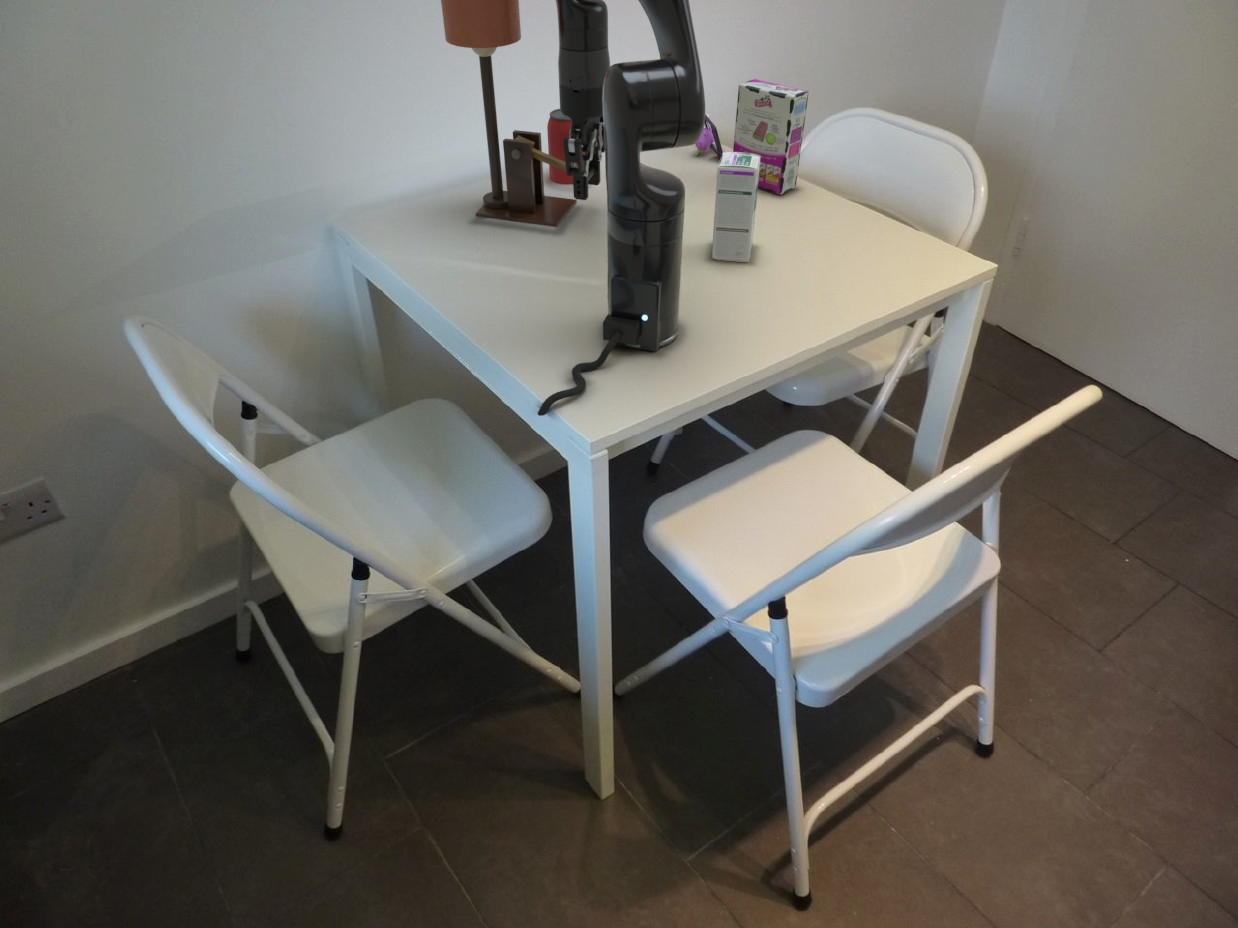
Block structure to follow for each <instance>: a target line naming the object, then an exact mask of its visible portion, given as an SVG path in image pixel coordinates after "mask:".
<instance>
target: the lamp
mask: <svg viewBox="0 0 1238 928" xmlns="http://www.w3.org/2000/svg"><path fill="white" fill-rule="evenodd" d="M440 5H441V11H442V22H443V29H444V38H445V41H446V43H447V44H450V45H452V46H455V47H459V48H467V49H472V52H474V54H476V56H478V59H479V60H478V61H479V69H480V70H479V71H480V80H481V90H482V101H483V111H484V112H483V113H484V121H485V132H486V142H487V143H486V144H487V151H488V163H489V173H490V183H491V191H489V192H487V193H485V194H484V195H483V197H482V202H483V203H482V204H483V206H484V205H485V206H486V207H489V208H494V209H501V208H506V207H508V195H507V192H505V191H506V190H504V185H503V184H504V183H503V174H502V173H503V171H502V162H501V151H500V140H499V129H498V128H499V127H498V118H497V117H498V116H497V104H496V95H495V94H496V93H495V83H494V72H493V71H494V70H493V59H492V56H493V55H494V54H495V53H496V51H497V49H498V48H501V47H505V46H506V47H507V46H509V45H513V44H515V43H517V42H519V41H520V40H521V39H522V31H521V15H520V14H521V12H520V0H440Z"/></svg>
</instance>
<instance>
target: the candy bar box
mask: <svg viewBox="0 0 1238 928" xmlns="http://www.w3.org/2000/svg"><path fill="white" fill-rule="evenodd" d="M737 91H738V92H737V102H736V113H735V114H736V115H735V125H734V137H733V147H732V148H733V150H732V152H745V153H753V154H759V155H760V167H759V179H758V189H759V190H762V191H766V192H769V193H772V194H776V195H779V196H782V195H784V194H786V193H789V192H790V191H793V190H794V189H796V187H797V180H798V173H799V165H800V159H801V158H800V157H801V151H802V144H803V143H802V142H803V136H804V130H805V129H804V128H805V123H806V122H805V121H806V114H807V107H808V101H809V100H808V99H809V93H810V92H809V91H808V90H804V89H800V88H796V87H793V86H792V87H791V86H787V85H783V84H779V83H775V82H770V81H766V80H762V79H757V78H754V79H750V80H747V81H745V82H742V83H740V84H738V90H737Z"/></svg>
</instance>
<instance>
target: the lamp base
mask: <svg viewBox="0 0 1238 928" xmlns="http://www.w3.org/2000/svg"><path fill="white" fill-rule="evenodd" d="M518 136H521V137H524V138H526V139H528V140H531V141H523V140H514V139H515V138H517V137H518ZM532 141H533V142H535V144H534V149H537V150H539V151H541V152H543V148H542V133H541V132H538V131H537V132H536V131H526V130H519V129H518V130H517V129H514V130H513V131H512V138H504V139H503V140H502V146H503V147H502V149H503V158H504V159H503V160H504V169H505V170H504V171H505V182H506V190H504V191H505V192H507V195H508V207H506V208H501V209H494V208H489V207H486V206H485V205H484V204H483V206H481V207H480V208H479V209H478V210H477V211H476V212H475V217H477V218H479V217H480V218H485V219H487V218H488V219H494V220H500V221H501V220H502V221H507V222H516V223H523V224H531V225H539V226H545V227H553V228H557V227H558V226H559V225H560V224H561V223H562V221H563V220H564V219H566V218H565V217H566V216H567V215H568V214H569V213H570V212H571V210H573V208H574V207H575V206H576V205H577V203H578V199H575V198H564V197H558V196H550V195H545V185H544V167H543V166H544V165H543V164H544V163H543V162H542V161H540V160H538V159H535V158H533V156H532Z"/></svg>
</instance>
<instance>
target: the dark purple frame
mask: <svg viewBox="0 0 1238 928" xmlns="http://www.w3.org/2000/svg"><path fill="white" fill-rule="evenodd" d="M710 118H711V117H710V115H709V114H708V113H705V123H704V129H703V133H702V135H701V137H700V139H699V140H698V142H696V143H695V144H694V145H695V147H696V149H697V151H696V152H695V153H696V154H695V157H698V156H699V155H700V153H701V152H706V151H707V150H709V148H710V147H711V148H712V149H713V151H714V152H715V154H717V156H718V158H720V159H721V157H722V154H723V152H724V150H723V147H722V144H721V140H720V137H719V132H718V129H717V126H716V125H715V124H714V123H713V121H712V120H711V119H710Z"/></svg>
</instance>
